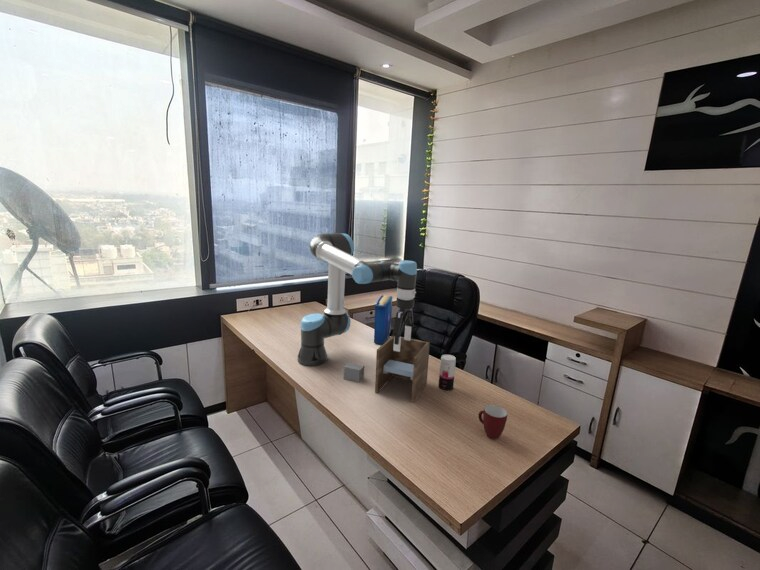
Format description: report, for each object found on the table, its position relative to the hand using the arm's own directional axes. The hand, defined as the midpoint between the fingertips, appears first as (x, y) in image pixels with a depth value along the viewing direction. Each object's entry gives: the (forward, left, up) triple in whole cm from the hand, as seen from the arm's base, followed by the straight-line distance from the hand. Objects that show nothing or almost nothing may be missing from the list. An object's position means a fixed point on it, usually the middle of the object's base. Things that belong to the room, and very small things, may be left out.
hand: (402, 345), depth 154 cm
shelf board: (0, 0, -12) cm, 12 cm away
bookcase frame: (0, +2, -21) cm, 21 cm away
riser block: (-23, 0, -21) cm, 31 cm away
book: (-31, +53, -21) cm, 65 cm away
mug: (+40, -15, -21) cm, 48 cm away
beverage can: (+18, +11, -21) cm, 30 cm away
